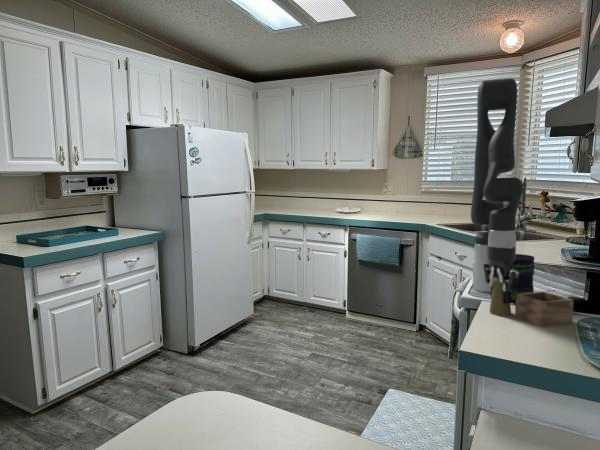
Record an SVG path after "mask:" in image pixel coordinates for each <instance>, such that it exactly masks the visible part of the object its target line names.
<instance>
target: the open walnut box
mask: <svg viewBox="0 0 600 450" xmlns="http://www.w3.org/2000/svg"><path fill="white" fill-rule="evenodd" d="M552 293H553V292H548V291H546V290H545V291H534V292H531V293H521V294H516V304H514V305H515V308H514V309H515V310H514V311H515V312H514V314H515V316H516V317H515V316H514V317H515V318H518V317H519V318H518V319H520V318H521V319H520V320H522V319H523V321H524V322H525V321H526V322H527V321H528V323H530V324H533V325H535V326H537V327H540V328H548V327H558V326H566V325H567V326H568V325H573V319H574V317H573V316H574V299H571V298H568V297H564V296H562V295H559V294H556V295H555V293H553V294H552ZM558 295H559V296H558Z"/></svg>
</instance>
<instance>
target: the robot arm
mask: <svg viewBox="0 0 600 450" xmlns="http://www.w3.org/2000/svg"><path fill="white" fill-rule="evenodd" d="M476 102H477V103H476V105H477V106H476V108H477V109H476V111H477V116H476V117H477V118H476V119H477V120H476V121H477V122H476V123H477V125H476V126H477V127H476V129H477V130H476V131H477V132H476V141H475V151H474V173H473V174H474V177H473V178H474V179H473V192H472V198H471V207H470V208H471V209H470V219H471V223H472V224H474V225H477V226H482V225H483V226H489V227H488V228H489V229H488V230H487V231H485V232H482V233H479V234H476V235H475V236H474V262H473V263H472V288H473V289H474V290H475V291H477V292H480V293H481V292H482V293H490V298H492V292H493V286H492V284H491V281H492V279H493V278H494V277H498V278H499V279H500V283H502V284H503V285H502V287H503V295H502V302H503V303H505V304H506V303H510V302H511V291H512V290H517V288H518V284H519V280H520V276H521V272H520V271H515V270H514V269H513V265H512V263H513V262H514V261H515V259H516V254H517V252H516V251H517V235H516V222H517V221H516V219H517V211H518V207H519V204H520V201H521V199H522V195H523V192H524V184H523V181H522V180H521V179H520V178H519V177H499V176H500V175H501V174H505V173H509V172H511V171H513V170H514V168H515V167H516V166H515V165H516V159H515V158H516V157H515V156H516V155H515V131H516V129H515V127H516V120H517V107H518V106H517V105H518V84H517V82H516V80H515V79H514V78H499V79H487V80H483V81H481V82H480V83H479V85H478V87H477V101H476ZM499 110H501V111H503V110H505V111H504V117H503V119H502V121H501V122H500V124H499V126H498V127H497V129H496V130H495V128H494V127H493V125H492V123H491V121H490V118H489V111H499ZM484 198H485V199H484ZM504 202H505V203H506V202H508V203H507V205H506V206H505V205H504ZM504 279H508V280H504ZM506 283H508V286H506ZM513 284H514V285H513ZM512 285H513V286H512Z"/></svg>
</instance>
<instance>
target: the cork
mask: <svg viewBox="0 0 600 450" xmlns="http://www.w3.org/2000/svg"><path fill="white" fill-rule="evenodd" d="M504 280H508V279H504ZM491 284H492V286H493V292H492V298H491V297H490V298H491V299H490V300H491V301H490V305H489V310H488V311H490V312H491V313H493V314H492V315H494V314H496V315H495V316H498V315H509V316H511V315H512V308H511V304H510V303H506V304H505V303H503V302H502V295H503V287H502V285H503V284H502V283H500V279H499V278H498V277H494V278H493V279H492V281H491ZM506 286H508V283H506ZM490 312H489V313H490ZM491 313H490V314H491Z"/></svg>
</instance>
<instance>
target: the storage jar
mask: <svg viewBox="0 0 600 450" xmlns="http://www.w3.org/2000/svg"><path fill="white" fill-rule="evenodd" d="M512 265H513V269H514V270H515V271H520V272H521V276H520V280H519V284H518V288H517V290H512V291H511V302H510V303H514V304H513V305H516V294H521V293H531V292H535V291H534V289H535V288H534V275H535V256H533V255H529V254H521V253H516V259H515V261H514V262H513V263H512ZM513 285H514V284H513ZM513 285H512V286H513Z"/></svg>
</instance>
